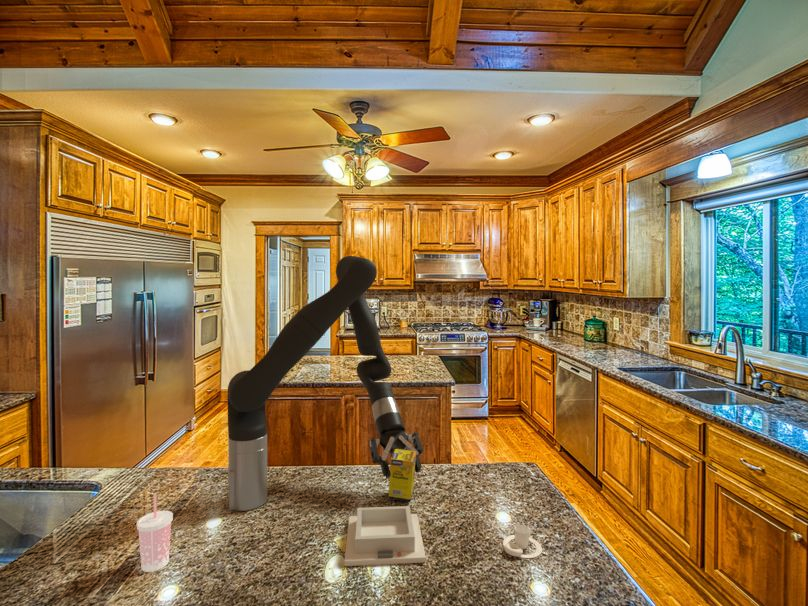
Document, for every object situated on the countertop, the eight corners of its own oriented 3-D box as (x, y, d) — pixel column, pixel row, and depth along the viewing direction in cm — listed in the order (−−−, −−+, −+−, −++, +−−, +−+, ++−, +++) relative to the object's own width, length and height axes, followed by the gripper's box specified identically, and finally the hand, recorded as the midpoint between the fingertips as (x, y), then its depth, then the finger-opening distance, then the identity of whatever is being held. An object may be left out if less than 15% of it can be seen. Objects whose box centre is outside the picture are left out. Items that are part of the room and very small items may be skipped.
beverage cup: (176, 551, 83) (176, 484, 83) (169, 570, 77) (168, 498, 77) (142, 557, 81) (141, 488, 81) (132, 577, 75) (131, 503, 75)
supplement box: (411, 502, 102) (413, 461, 101) (387, 499, 103) (390, 458, 102) (414, 489, 108) (416, 450, 106) (392, 486, 109) (394, 448, 107)
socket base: (344, 566, 78) (344, 545, 78) (349, 520, 94) (349, 503, 94) (425, 562, 80) (425, 542, 80) (417, 517, 96) (417, 501, 95)
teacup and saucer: (511, 564, 80) (511, 543, 80) (492, 540, 88) (492, 522, 87) (549, 556, 82) (550, 537, 82) (528, 534, 90) (528, 516, 90)
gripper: (367, 413, 109) (382, 472, 99) (414, 408, 115) (433, 463, 104) (360, 427, 114) (374, 484, 103) (406, 421, 120) (423, 475, 109)
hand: (403, 474), depth 104 cm, fingers closed on supplement box, 8 cm apart
